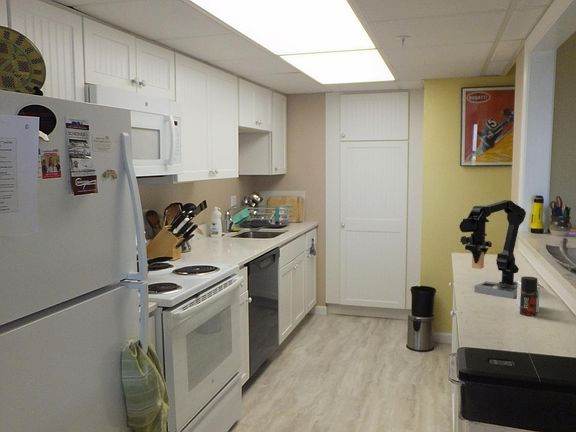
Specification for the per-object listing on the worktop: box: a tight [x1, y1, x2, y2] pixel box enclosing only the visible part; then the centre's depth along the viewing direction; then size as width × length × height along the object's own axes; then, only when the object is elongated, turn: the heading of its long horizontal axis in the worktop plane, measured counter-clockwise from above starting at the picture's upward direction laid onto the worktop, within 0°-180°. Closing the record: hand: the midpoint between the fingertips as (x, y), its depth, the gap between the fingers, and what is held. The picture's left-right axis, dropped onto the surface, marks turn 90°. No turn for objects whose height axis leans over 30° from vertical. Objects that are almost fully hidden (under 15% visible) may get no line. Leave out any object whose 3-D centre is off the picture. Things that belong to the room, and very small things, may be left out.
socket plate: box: [474, 280, 517, 299], centre depth 245 cm, size 14×18×4 cm
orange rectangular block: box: [471, 252, 485, 270], centre depth 255 cm, size 4×4×8 cm
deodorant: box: [519, 276, 538, 317], centre depth 208 cm, size 6×6×15 cm
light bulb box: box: [516, 280, 541, 313], centre depth 217 cm, size 11×7×11 cm, turn 168°
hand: (478, 262), depth 255 cm, fingers closed on orange rectangular block, 4 cm apart
